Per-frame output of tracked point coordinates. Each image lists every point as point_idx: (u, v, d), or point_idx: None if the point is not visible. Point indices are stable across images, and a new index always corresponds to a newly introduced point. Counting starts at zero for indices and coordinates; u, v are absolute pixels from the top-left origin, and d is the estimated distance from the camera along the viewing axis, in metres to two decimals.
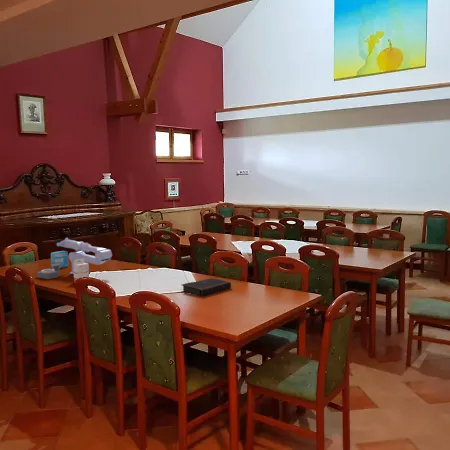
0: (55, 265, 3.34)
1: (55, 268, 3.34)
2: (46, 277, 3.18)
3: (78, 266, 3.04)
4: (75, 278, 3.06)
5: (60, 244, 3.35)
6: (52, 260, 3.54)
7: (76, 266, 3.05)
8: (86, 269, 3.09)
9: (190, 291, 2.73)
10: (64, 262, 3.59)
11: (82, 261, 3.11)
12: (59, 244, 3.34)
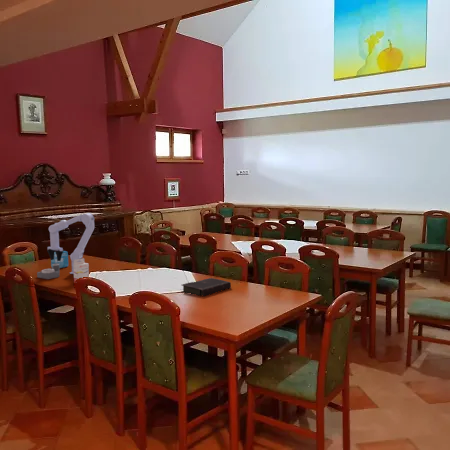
0: (55, 265, 3.34)
1: (55, 268, 3.34)
2: (46, 277, 3.18)
3: (78, 266, 3.04)
4: (75, 278, 3.06)
5: (60, 248, 3.31)
6: (52, 260, 3.54)
7: (76, 266, 3.05)
8: (86, 269, 3.09)
9: (190, 291, 2.73)
10: (64, 262, 3.59)
11: (82, 261, 3.11)
12: (60, 248, 3.31)
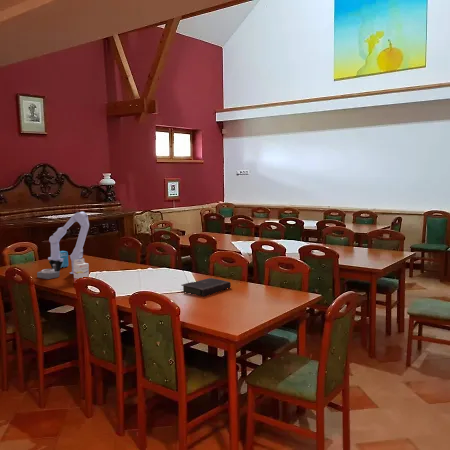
0: (55, 265, 3.34)
1: (55, 268, 3.34)
2: (46, 277, 3.18)
3: (78, 266, 3.04)
4: (75, 278, 3.06)
5: (60, 258, 3.32)
6: None
7: (76, 266, 3.05)
8: (86, 269, 3.09)
9: (190, 291, 2.73)
10: (64, 262, 3.59)
11: (82, 261, 3.11)
12: (61, 258, 3.32)
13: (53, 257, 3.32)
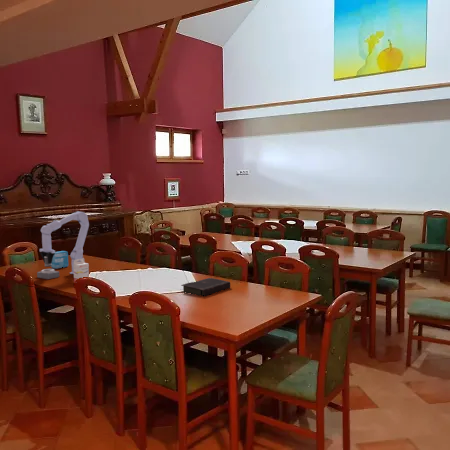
0: None
1: (47, 260, 3.21)
2: (46, 277, 3.18)
3: (78, 266, 3.04)
4: (75, 278, 3.06)
5: (52, 250, 3.19)
6: (52, 260, 3.54)
7: (76, 266, 3.05)
8: (86, 269, 3.09)
9: (191, 291, 2.73)
10: (64, 262, 3.59)
11: (82, 261, 3.11)
12: (52, 250, 3.19)
13: (44, 248, 3.20)
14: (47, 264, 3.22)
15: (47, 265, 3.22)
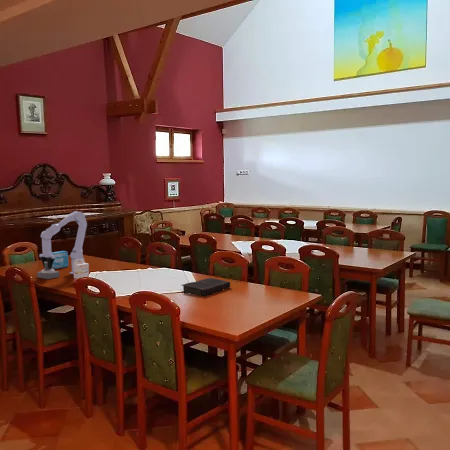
0: (47, 263, 3.21)
1: (47, 266, 3.21)
2: (46, 277, 3.18)
3: (78, 266, 3.04)
4: (75, 278, 3.06)
5: (52, 255, 3.19)
6: None
7: (76, 266, 3.05)
8: (86, 269, 3.09)
9: (191, 291, 2.73)
10: (64, 262, 3.59)
11: (82, 261, 3.11)
12: (53, 255, 3.19)
13: (44, 254, 3.20)
14: (47, 269, 3.22)
15: (47, 270, 3.22)
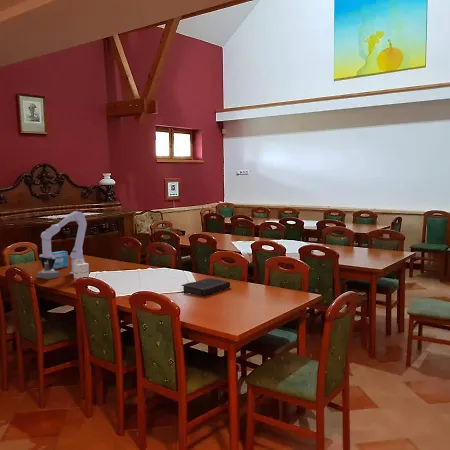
0: (47, 263, 3.21)
1: (47, 266, 3.21)
2: (46, 277, 3.18)
3: (78, 266, 3.04)
4: (75, 278, 3.06)
5: (52, 255, 3.19)
6: None
7: (76, 266, 3.05)
8: (86, 269, 3.09)
9: (191, 291, 2.73)
10: (64, 262, 3.59)
11: (82, 261, 3.11)
12: (53, 256, 3.19)
13: (44, 254, 3.20)
14: (47, 270, 3.22)
15: None
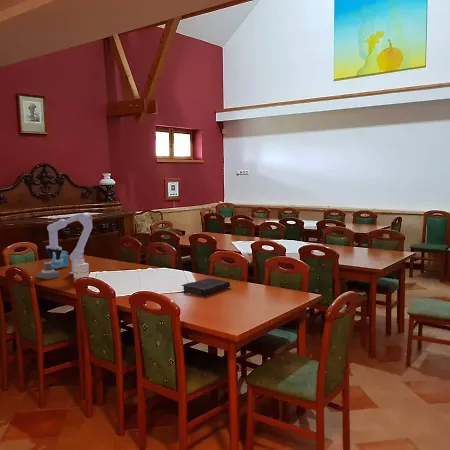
0: (47, 263, 3.21)
1: (47, 266, 3.21)
2: (46, 277, 3.18)
3: (78, 266, 3.04)
4: (75, 278, 3.06)
5: (59, 247, 3.33)
6: (52, 260, 3.54)
7: (76, 266, 3.05)
8: (86, 269, 3.09)
9: (191, 291, 2.72)
10: (64, 262, 3.59)
11: (82, 261, 3.11)
12: (59, 247, 3.33)
13: (51, 245, 3.33)
14: (47, 270, 3.22)
15: None
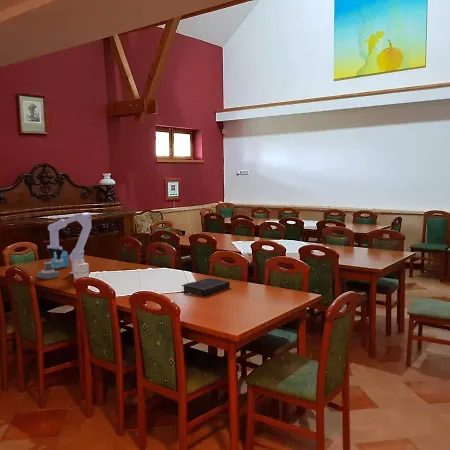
0: (47, 263, 3.21)
1: (47, 266, 3.21)
2: (46, 277, 3.18)
3: (78, 266, 3.04)
4: (75, 278, 3.06)
5: (59, 246, 3.35)
6: (52, 260, 3.54)
7: (76, 266, 3.05)
8: (86, 269, 3.09)
9: (191, 291, 2.72)
10: (64, 262, 3.59)
11: (82, 261, 3.11)
12: (60, 246, 3.34)
13: (52, 245, 3.35)
14: (47, 270, 3.22)
15: None
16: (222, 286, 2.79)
